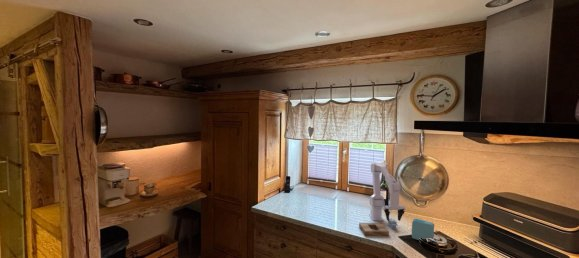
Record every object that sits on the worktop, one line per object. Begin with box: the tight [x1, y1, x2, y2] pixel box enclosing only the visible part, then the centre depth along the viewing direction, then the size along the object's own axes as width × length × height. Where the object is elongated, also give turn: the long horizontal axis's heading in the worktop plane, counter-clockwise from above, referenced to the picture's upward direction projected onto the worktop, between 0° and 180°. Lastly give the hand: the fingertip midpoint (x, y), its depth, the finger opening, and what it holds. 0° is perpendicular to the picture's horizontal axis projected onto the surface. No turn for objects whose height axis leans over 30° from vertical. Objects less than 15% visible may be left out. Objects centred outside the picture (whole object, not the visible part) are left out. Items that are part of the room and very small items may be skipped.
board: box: [358, 222, 390, 237], centre depth 158 cm, size 12×16×3 cm
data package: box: [411, 218, 435, 241], centre depth 149 cm, size 12×4×12 cm, turn 55°
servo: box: [387, 218, 399, 230], centre depth 165 cm, size 9×4×6 cm, turn 1°
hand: (393, 220), depth 155 cm, fingers open, 7 cm apart
